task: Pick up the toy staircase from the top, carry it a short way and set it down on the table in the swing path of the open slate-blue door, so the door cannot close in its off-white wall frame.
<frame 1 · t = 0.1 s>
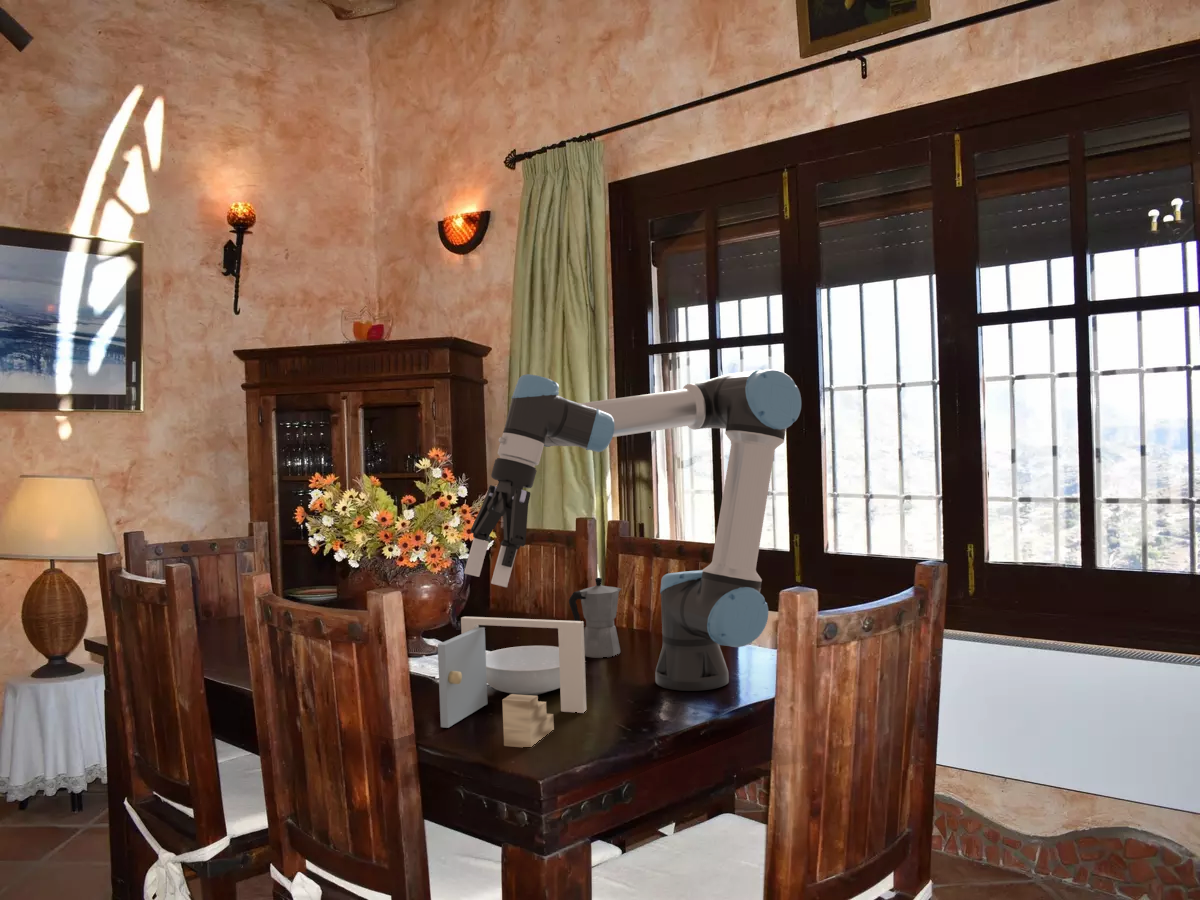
hand: (484, 580, 169), 28 cm above the table, tool tilted 20°, fingers open, 13 cm apart
wall frame: (524, 707, 188), on the table
toy staircase: (529, 738, 169), on the table
serving bowl: (529, 690, 201), on the table
coffeepot: (597, 655, 230), on the table
door: (468, 675, 183), point 8 cm above the table, hinge at 90.0°
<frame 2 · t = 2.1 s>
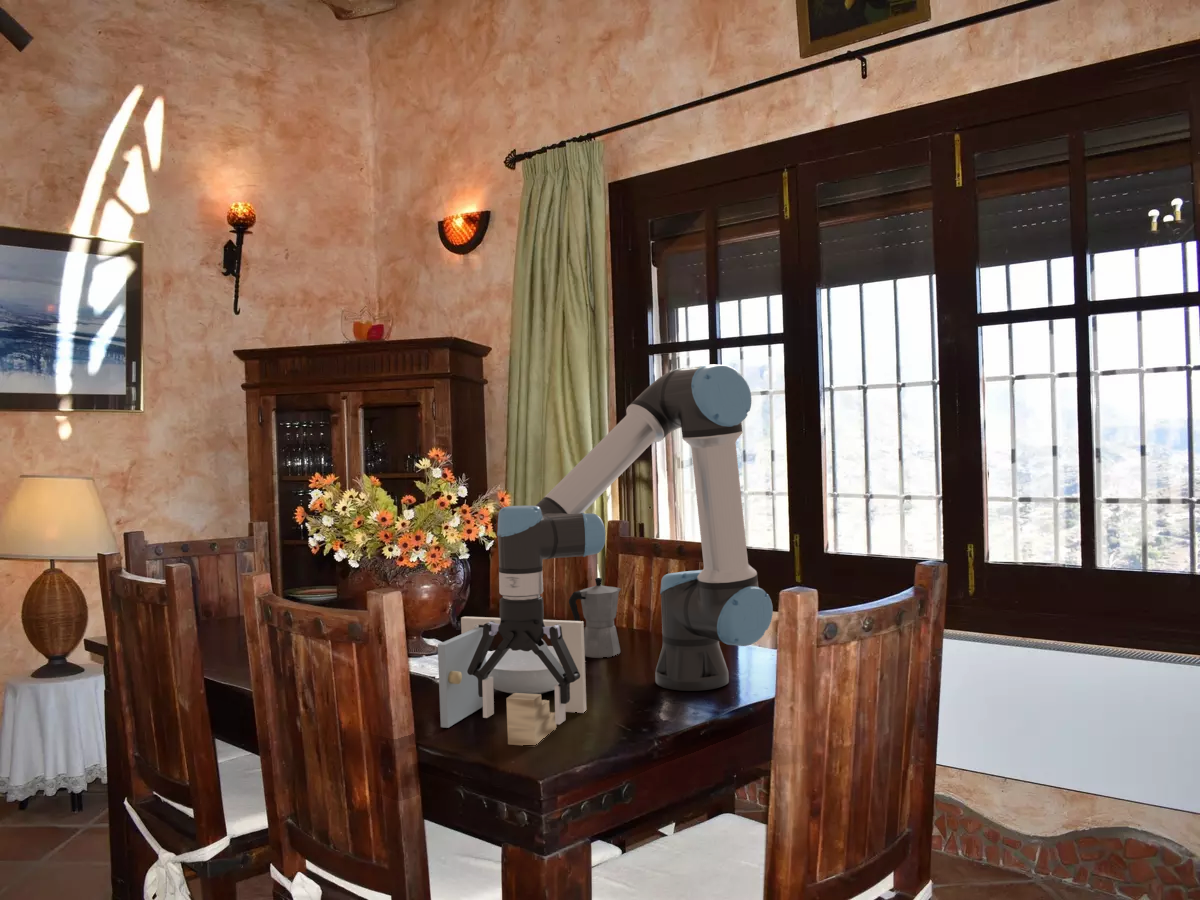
hand: (524, 719, 168), 4 cm above the table, tool pointing down, fingers open, 13 cm apart
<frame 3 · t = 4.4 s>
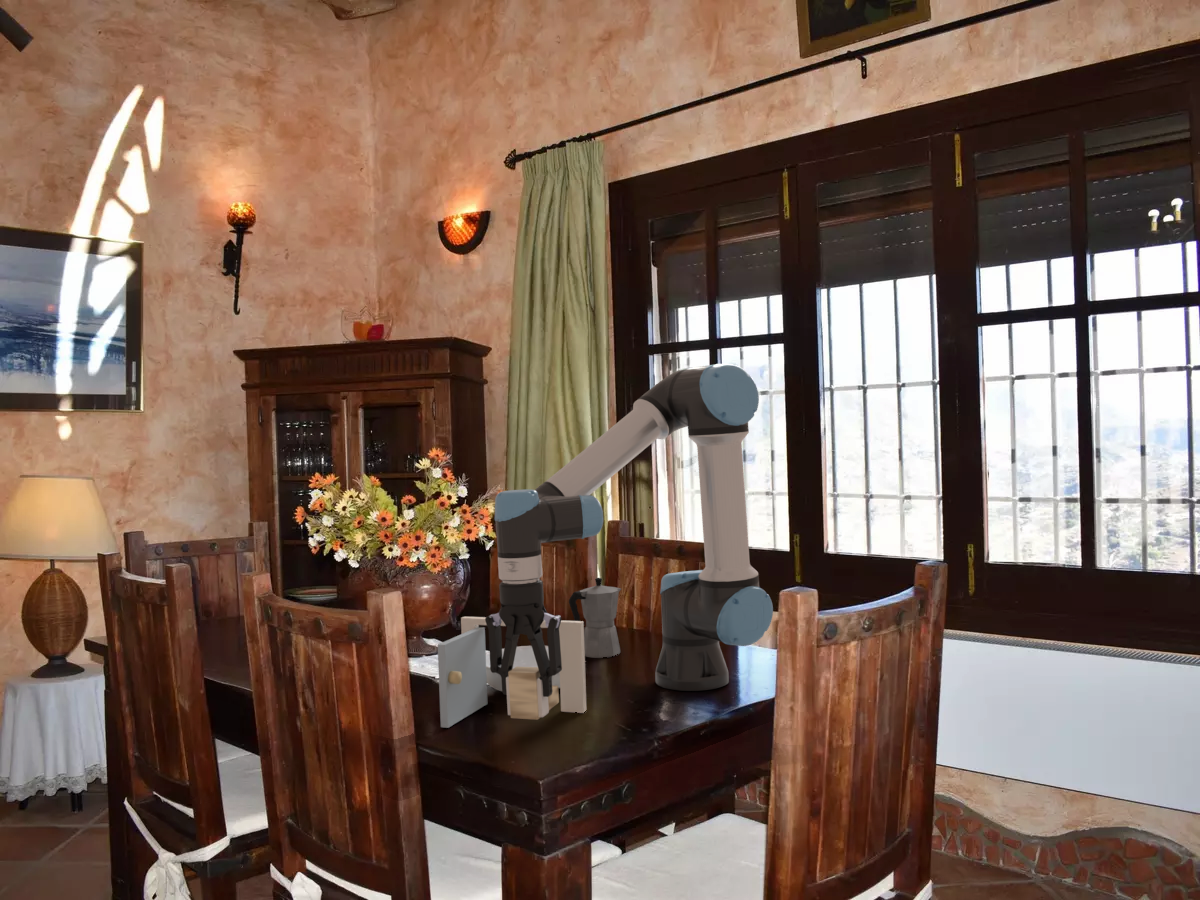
hand: (528, 713, 168), 4 cm above the table, tool pointing down, fingers closed on toy staircase, 5 cm apart
toy staircase: (535, 709, 171), point 4 cm above the table, touching gripper
everything else where it was.
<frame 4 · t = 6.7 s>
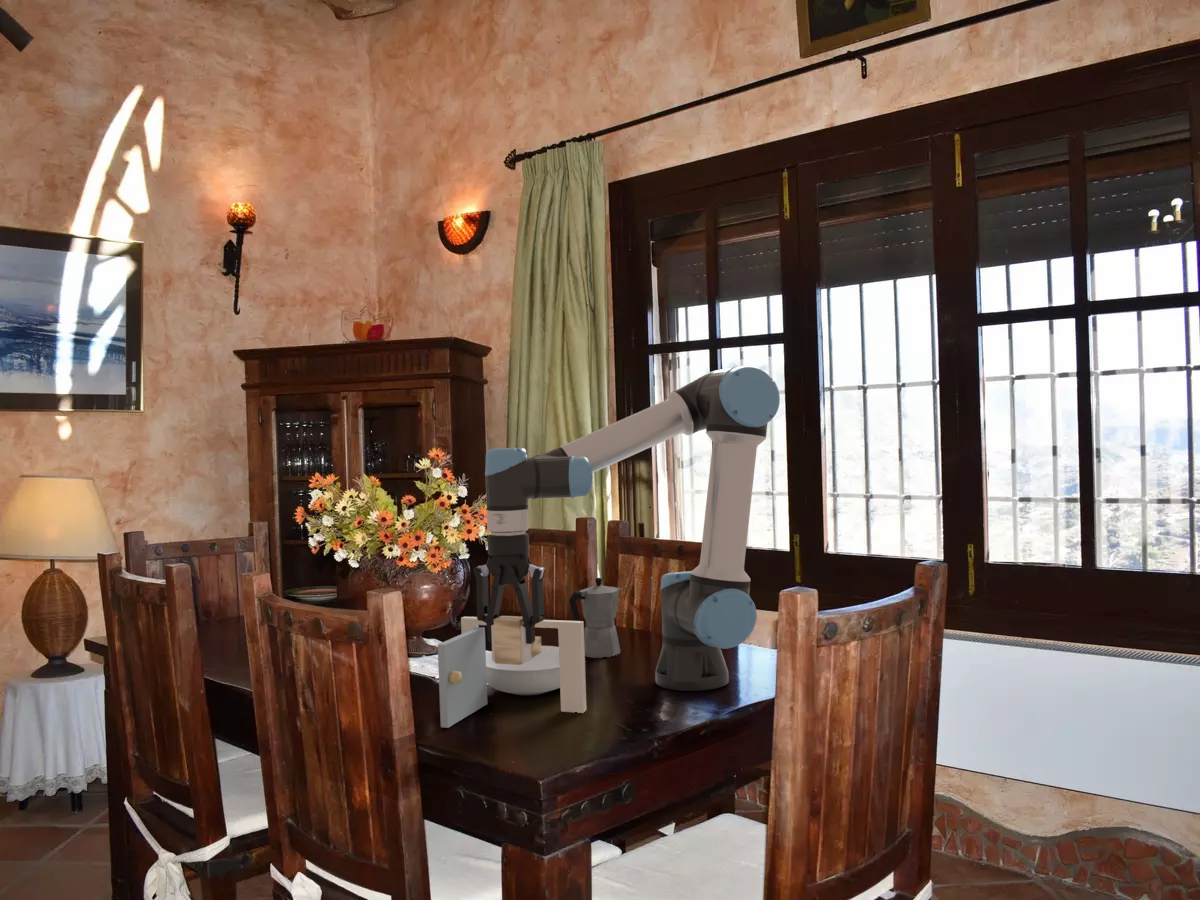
hand: (511, 660, 178), 12 cm above the table, tool pointing down, fingers closed on toy staircase, 5 cm apart
toy staircase: (518, 657, 180), point 11 cm above the table, touching gripper
everything else where it was.
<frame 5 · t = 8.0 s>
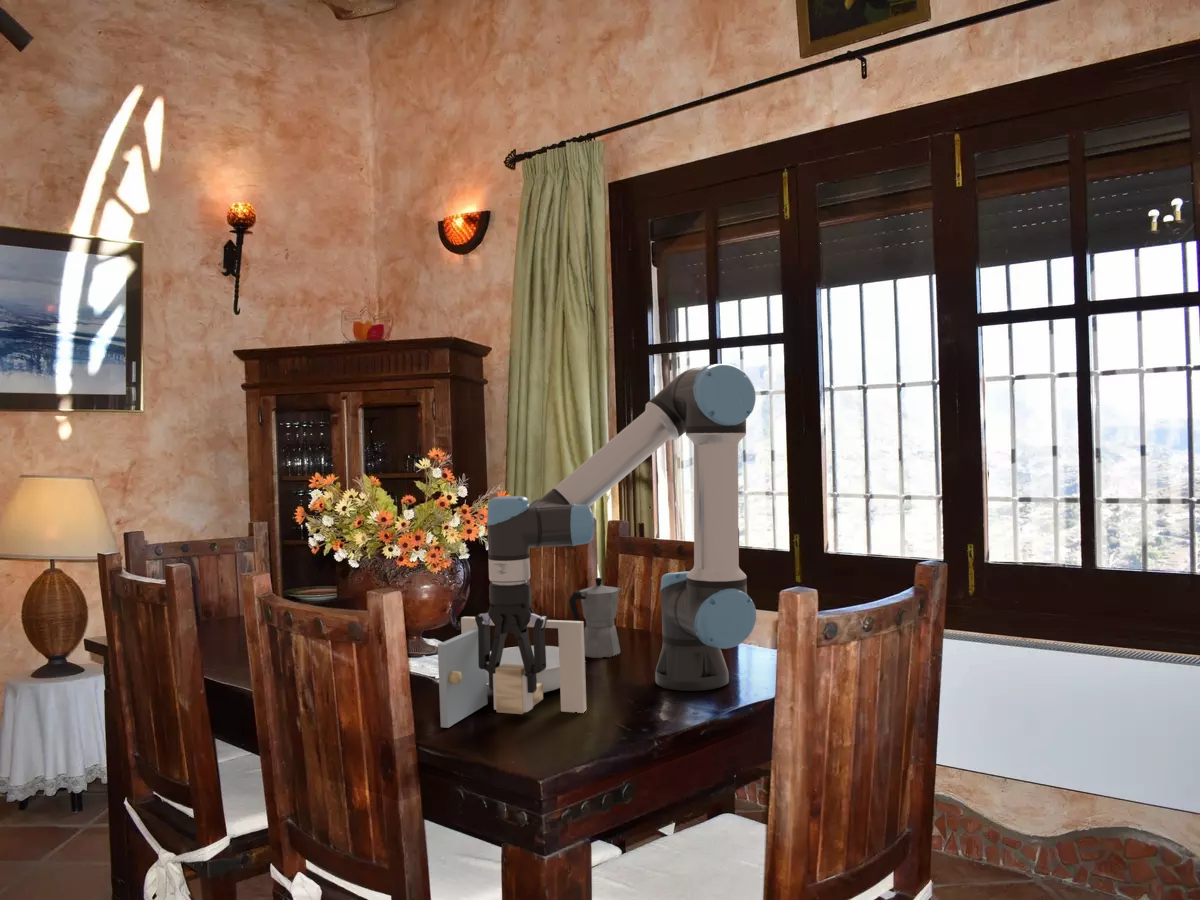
hand: (513, 708, 178), 3 cm above the table, tool pointing down, fingers closed on toy staircase, 5 cm apart
toy staircase: (520, 705, 181), point 2 cm above the table, touching gripper
everything else where it was.
when the fingers open (1 cm above the table, at t = 9.2 s): toy staircase stays where it is, on the table.
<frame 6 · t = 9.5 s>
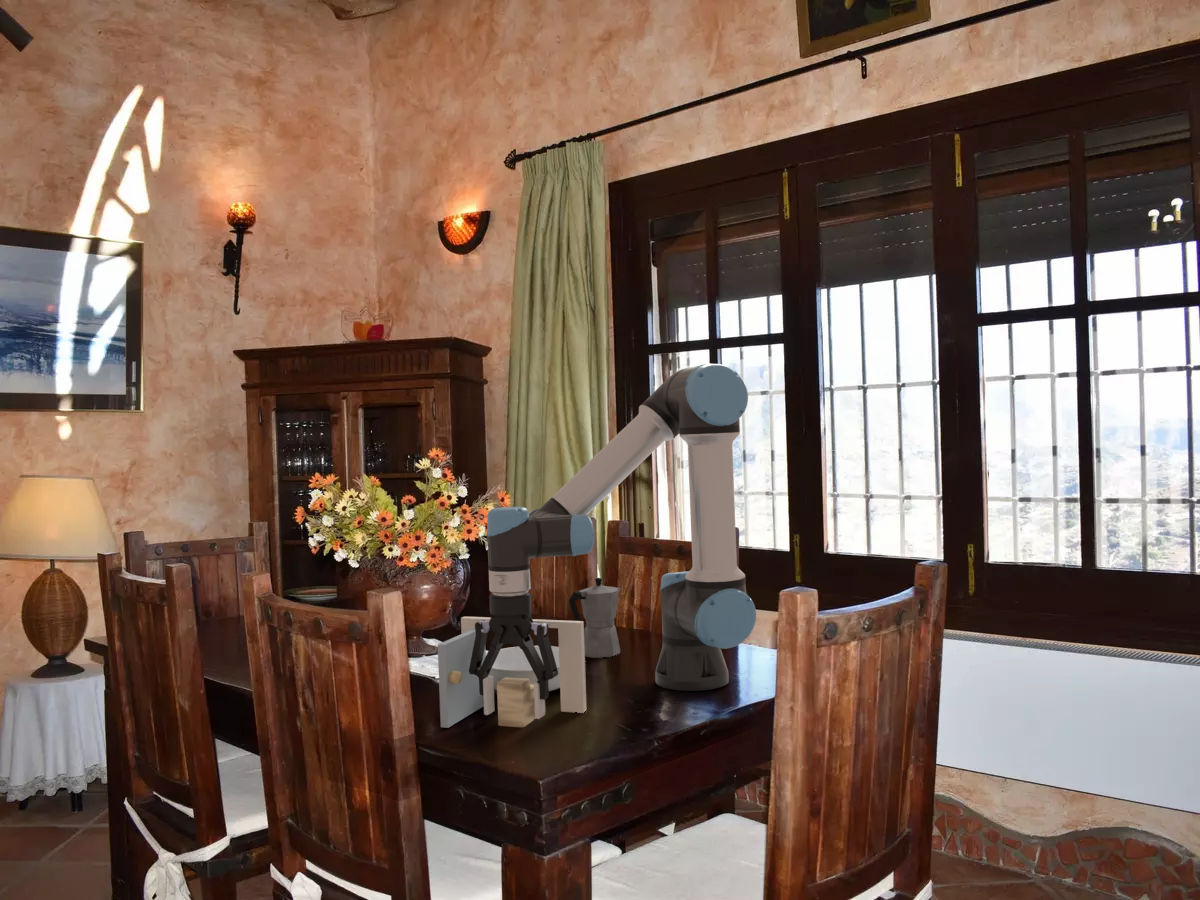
hand: (514, 714, 178), 2 cm above the table, tool pointing down, fingers open, 9 cm apart
toy staircase: (522, 718, 181), on the table
everything else where it was.
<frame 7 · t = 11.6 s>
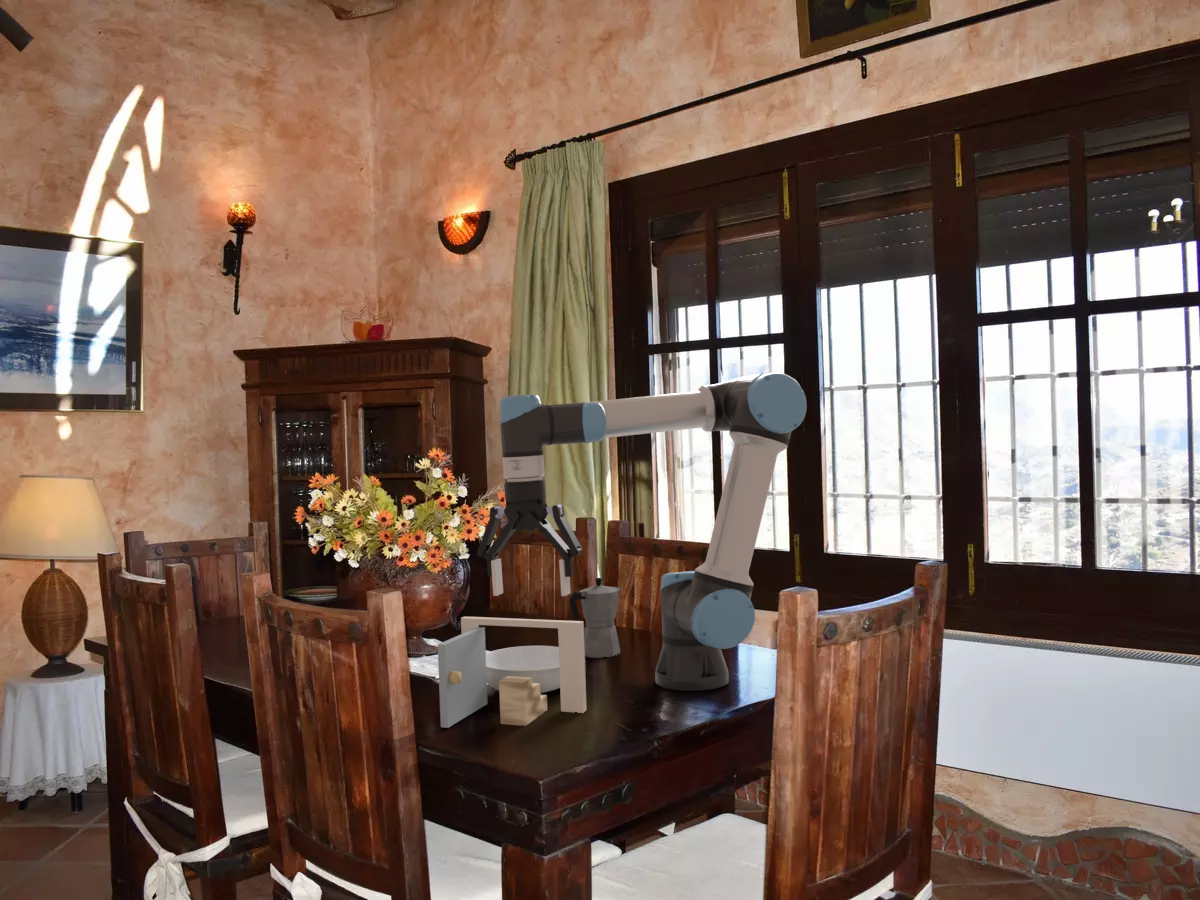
hand: (531, 594, 179), 23 cm above the table, tool pointing down, fingers open, 13 cm apart
nothing on the table moved.
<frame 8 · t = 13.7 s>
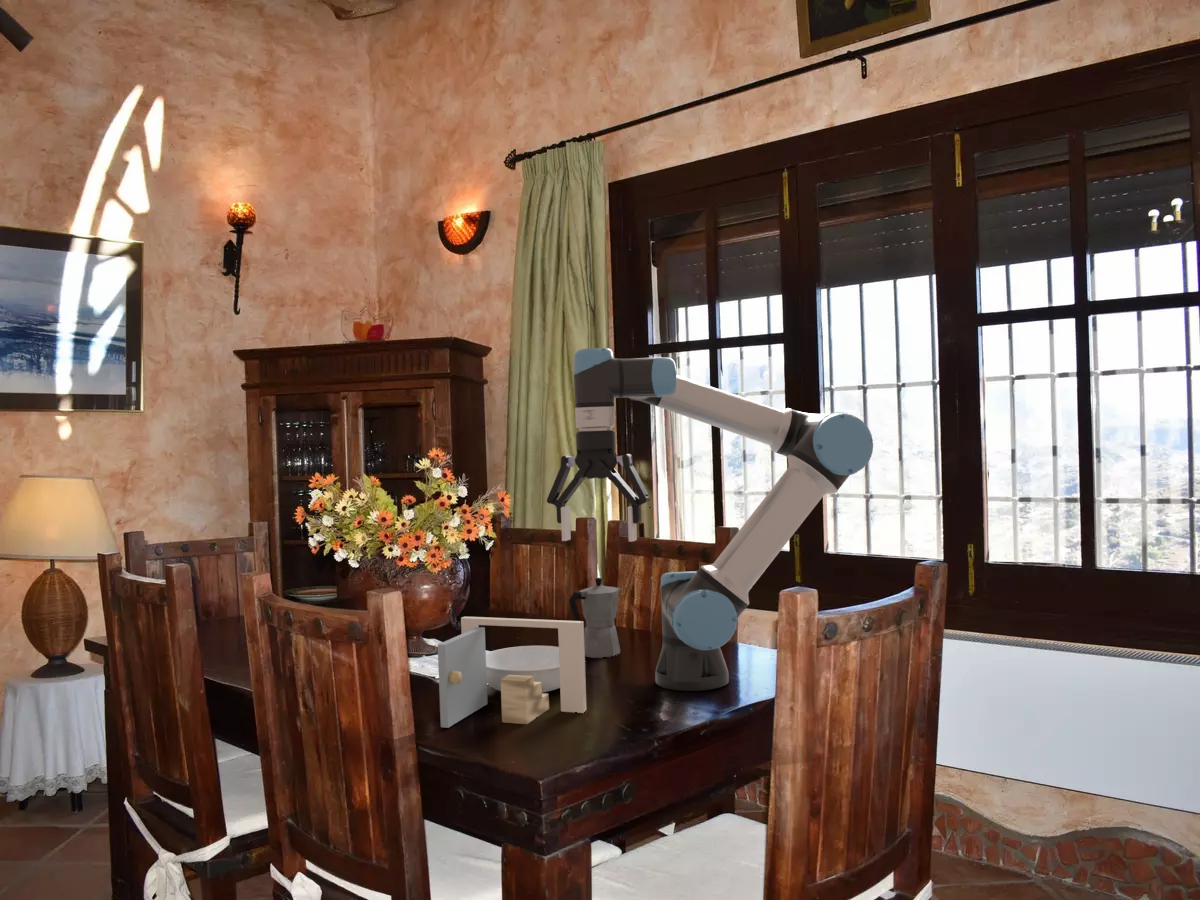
hand: (599, 540, 187), 32 cm above the table, tool pointing down, fingers open, 13 cm apart
at the end: toy staircase inside the target area (4.3 cm from its centre), on the table; toy staircase tilted 0°; door at +90° (first picture: +90°) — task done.
